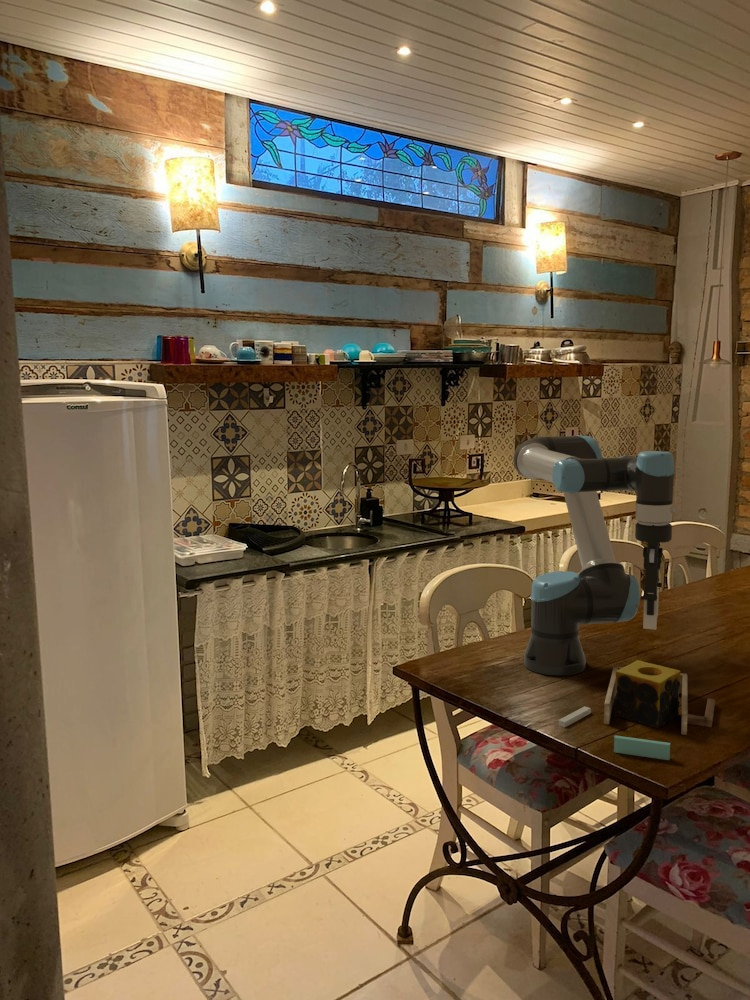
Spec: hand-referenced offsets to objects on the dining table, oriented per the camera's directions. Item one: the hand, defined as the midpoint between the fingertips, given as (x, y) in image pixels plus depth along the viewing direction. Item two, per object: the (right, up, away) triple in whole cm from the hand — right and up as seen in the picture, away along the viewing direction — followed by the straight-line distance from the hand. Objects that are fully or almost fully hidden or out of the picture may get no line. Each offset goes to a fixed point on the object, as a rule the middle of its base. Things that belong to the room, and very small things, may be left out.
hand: (650, 621), depth 173 cm
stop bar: (-10, -22, -25) cm, 34 cm away
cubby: (-2, -18, -3) cm, 19 cm away
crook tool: (+8, -19, -7) cm, 22 cm away
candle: (-3, -19, -7) cm, 21 cm away
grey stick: (-19, -20, -8) cm, 28 cm away
